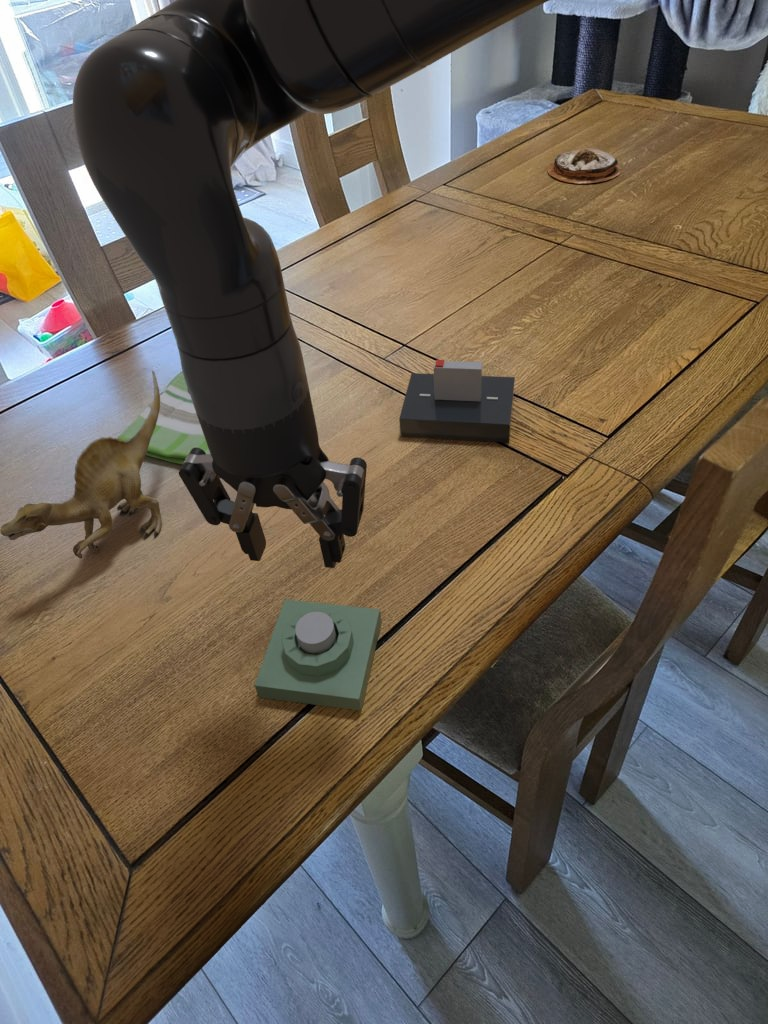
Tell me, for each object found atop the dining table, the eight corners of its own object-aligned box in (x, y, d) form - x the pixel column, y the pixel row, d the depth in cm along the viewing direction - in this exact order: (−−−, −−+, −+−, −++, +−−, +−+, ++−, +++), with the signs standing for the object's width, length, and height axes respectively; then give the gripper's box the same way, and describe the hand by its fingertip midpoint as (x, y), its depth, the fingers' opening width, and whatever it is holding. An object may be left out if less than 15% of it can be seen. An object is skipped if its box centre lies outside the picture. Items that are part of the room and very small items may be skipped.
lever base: (513, 395, 95) (514, 376, 93) (509, 442, 88) (510, 423, 86) (412, 390, 97) (411, 372, 95) (400, 436, 91) (399, 417, 88)
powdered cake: (605, 153, 152) (607, 132, 149) (632, 178, 141) (636, 156, 138) (539, 162, 151) (540, 142, 148) (561, 188, 140) (564, 167, 137)
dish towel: (306, 375, 102) (302, 355, 100) (225, 478, 88) (218, 457, 85) (208, 358, 108) (201, 338, 105) (116, 452, 93) (107, 431, 91)
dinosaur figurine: (38, 591, 77) (-22, 508, 68) (179, 444, 93) (147, 360, 84) (91, 611, 75) (36, 528, 65) (226, 457, 91) (199, 372, 81)
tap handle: (481, 394, 91) (482, 360, 87) (480, 401, 90) (481, 367, 86) (436, 392, 92) (435, 358, 88) (434, 399, 91) (433, 366, 87)
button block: (381, 621, 71) (378, 598, 68) (361, 711, 64) (356, 689, 61) (288, 611, 73) (281, 588, 70) (259, 697, 66) (249, 675, 63)
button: (339, 624, 67) (337, 613, 65) (331, 656, 64) (328, 645, 63) (303, 620, 67) (300, 609, 66) (293, 651, 65) (290, 641, 64)
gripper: (369, 360, 46) (389, 530, 58) (171, 353, 49) (228, 516, 61) (344, 432, 41) (371, 602, 53) (124, 419, 44) (197, 584, 56)
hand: (295, 555), depth 57 cm, fingers open, 5 cm apart
